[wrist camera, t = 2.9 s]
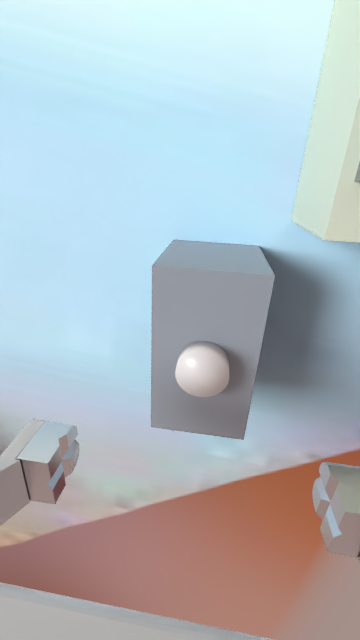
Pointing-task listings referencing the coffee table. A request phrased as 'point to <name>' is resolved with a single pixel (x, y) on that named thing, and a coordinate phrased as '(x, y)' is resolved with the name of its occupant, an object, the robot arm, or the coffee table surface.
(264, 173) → the coffee table surface
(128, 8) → the coffee table surface
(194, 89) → the coffee table surface
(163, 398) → the block
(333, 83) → the stand
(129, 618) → the robot arm
